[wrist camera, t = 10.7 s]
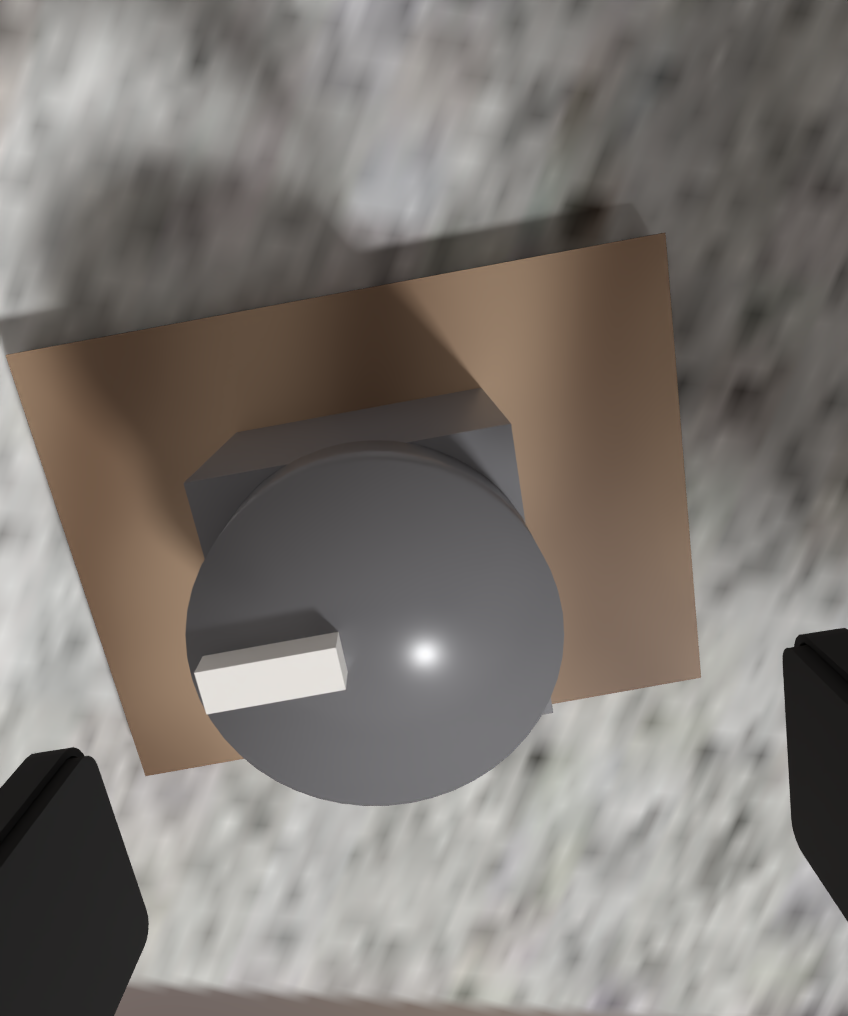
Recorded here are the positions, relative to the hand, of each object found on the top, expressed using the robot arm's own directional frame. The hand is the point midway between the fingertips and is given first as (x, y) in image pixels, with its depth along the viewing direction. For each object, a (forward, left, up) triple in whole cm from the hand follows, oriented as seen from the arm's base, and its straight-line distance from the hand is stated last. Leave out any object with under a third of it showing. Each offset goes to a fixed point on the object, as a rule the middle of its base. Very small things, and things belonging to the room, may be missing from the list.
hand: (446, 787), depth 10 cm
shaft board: (+1, 0, -11) cm, 11 cm away
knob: (+1, -1, -10) cm, 10 cm away
